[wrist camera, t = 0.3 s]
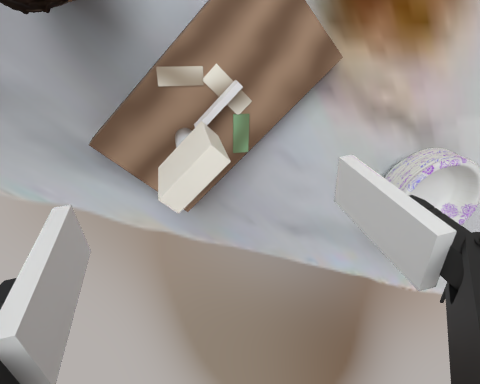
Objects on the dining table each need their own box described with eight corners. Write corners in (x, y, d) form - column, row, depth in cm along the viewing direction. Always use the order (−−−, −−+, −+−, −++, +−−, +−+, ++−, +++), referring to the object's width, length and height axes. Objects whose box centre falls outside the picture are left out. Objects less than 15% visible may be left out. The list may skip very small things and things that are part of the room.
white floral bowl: (420, 121, 47) (464, 138, 41) (458, 173, 55) (500, 195, 48) (347, 191, 51) (376, 218, 44) (391, 232, 58) (422, 260, 52)
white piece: (158, 151, 37) (158, 200, 28) (229, 73, 35) (257, 96, 25) (173, 163, 39) (178, 213, 29) (244, 88, 36) (275, 116, 26)
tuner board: (92, 137, 38) (88, 145, 35) (256, -57, 32) (264, -63, 29) (186, 202, 45) (187, 212, 43) (332, 54, 39) (343, 57, 37)
